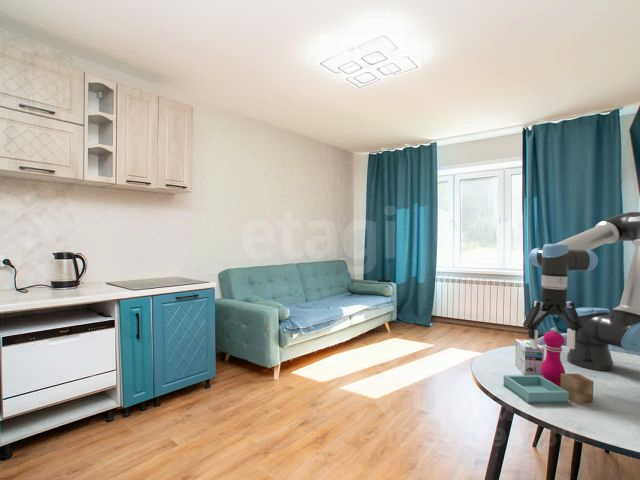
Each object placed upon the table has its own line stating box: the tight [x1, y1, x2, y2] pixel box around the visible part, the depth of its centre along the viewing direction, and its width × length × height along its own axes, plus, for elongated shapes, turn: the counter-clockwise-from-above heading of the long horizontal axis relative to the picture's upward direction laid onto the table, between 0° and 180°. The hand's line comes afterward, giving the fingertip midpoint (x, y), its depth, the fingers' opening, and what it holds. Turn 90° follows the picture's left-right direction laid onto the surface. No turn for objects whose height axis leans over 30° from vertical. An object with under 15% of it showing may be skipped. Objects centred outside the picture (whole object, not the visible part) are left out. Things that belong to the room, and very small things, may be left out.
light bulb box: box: [514, 338, 545, 377], centre depth 134 cm, size 11×7×11 cm, turn 168°
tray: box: [502, 374, 570, 405], centre depth 113 cm, size 13×13×4 cm
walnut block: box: [560, 373, 595, 405], centre depth 111 cm, size 6×6×7 cm
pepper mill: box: [541, 327, 566, 387], centre depth 121 cm, size 7×7×20 cm
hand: (552, 348), depth 121 cm, fingers open, 13 cm apart
